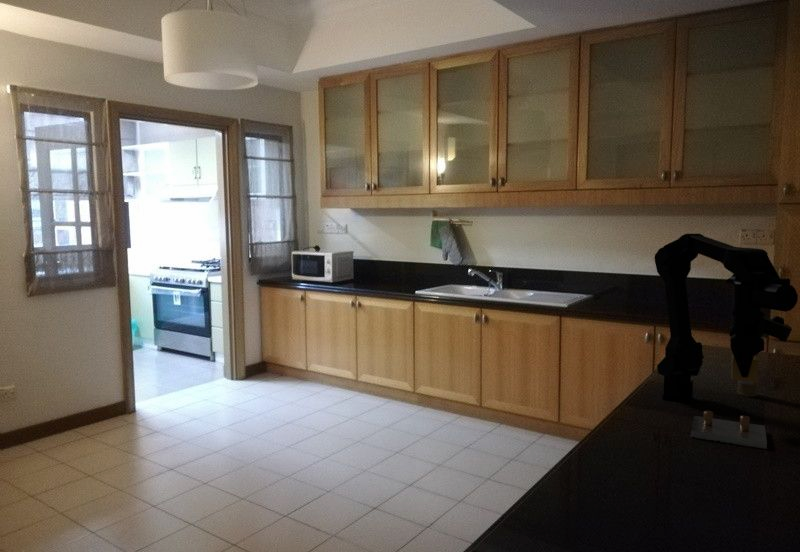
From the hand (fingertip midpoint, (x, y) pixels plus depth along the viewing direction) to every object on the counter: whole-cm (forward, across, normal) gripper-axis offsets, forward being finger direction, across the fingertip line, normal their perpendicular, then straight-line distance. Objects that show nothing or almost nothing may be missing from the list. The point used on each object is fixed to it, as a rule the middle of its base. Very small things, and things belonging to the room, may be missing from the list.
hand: (744, 374), depth 137 cm
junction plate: (+12, -8, +3) cm, 15 cm away
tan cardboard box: (+1, 0, 0) cm, 1 cm away
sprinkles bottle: (+12, +28, -2) cm, 31 cm away
